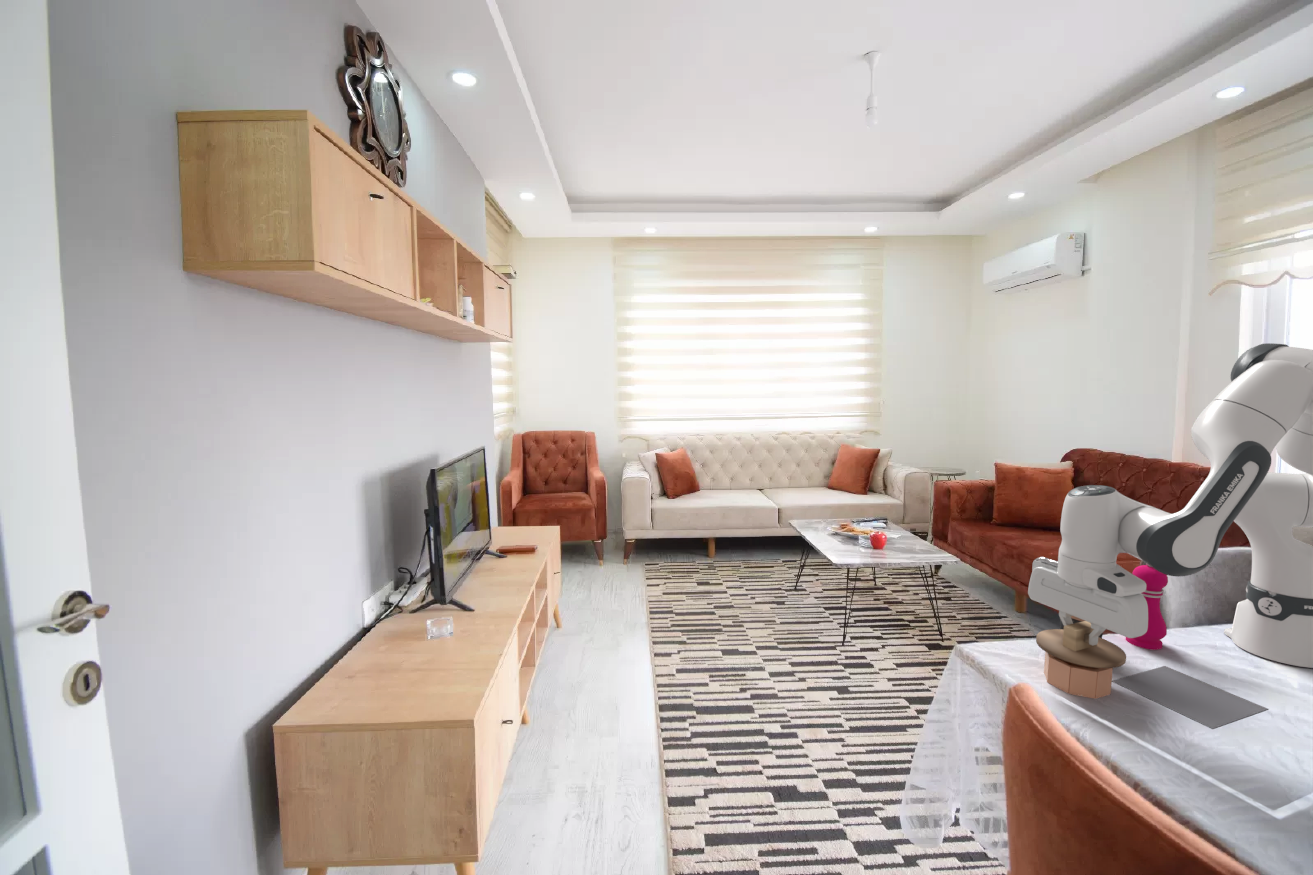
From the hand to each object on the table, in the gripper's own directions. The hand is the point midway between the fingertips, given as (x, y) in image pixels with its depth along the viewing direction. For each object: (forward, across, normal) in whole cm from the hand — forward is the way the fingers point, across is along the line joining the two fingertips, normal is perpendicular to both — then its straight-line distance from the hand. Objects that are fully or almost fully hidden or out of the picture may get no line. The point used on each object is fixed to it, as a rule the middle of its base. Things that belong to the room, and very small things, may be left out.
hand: (1080, 639), depth 111 cm
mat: (+10, +10, +15) cm, 20 cm away
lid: (+2, 0, 0) cm, 2 cm away
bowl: (+10, 0, 0) cm, 10 cm away
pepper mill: (+10, -6, +30) cm, 32 cm away
